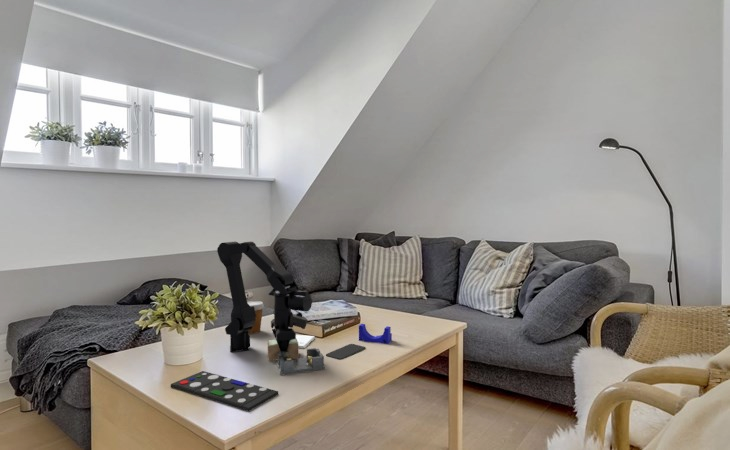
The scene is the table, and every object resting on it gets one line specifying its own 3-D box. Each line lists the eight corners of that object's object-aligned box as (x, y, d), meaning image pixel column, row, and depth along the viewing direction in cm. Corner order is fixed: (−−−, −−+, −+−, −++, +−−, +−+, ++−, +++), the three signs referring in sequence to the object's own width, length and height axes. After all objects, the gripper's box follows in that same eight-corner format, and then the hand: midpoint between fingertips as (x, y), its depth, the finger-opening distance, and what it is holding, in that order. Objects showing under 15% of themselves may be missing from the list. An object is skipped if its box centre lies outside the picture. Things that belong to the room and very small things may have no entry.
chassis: (280, 375, 129) (280, 362, 129) (276, 364, 139) (276, 352, 139) (325, 369, 134) (325, 357, 134) (318, 359, 143) (318, 347, 143)
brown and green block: (268, 360, 142) (268, 345, 142) (267, 354, 148) (267, 340, 148) (298, 358, 145) (298, 342, 145) (296, 352, 151) (296, 337, 150)
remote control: (202, 375, 131) (202, 369, 130) (278, 396, 116) (278, 389, 116) (170, 388, 121) (170, 382, 121) (248, 413, 106) (248, 405, 106)
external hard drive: (314, 340, 167) (304, 350, 154) (295, 338, 168) (283, 348, 156) (314, 335, 167) (304, 345, 154) (295, 334, 168) (283, 344, 156)
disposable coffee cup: (263, 334, 172) (262, 305, 172) (239, 335, 170) (238, 306, 170) (265, 328, 181) (264, 300, 181) (242, 329, 180) (241, 301, 179)
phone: (324, 354, 147) (351, 343, 159) (324, 356, 147) (351, 345, 159) (340, 359, 142) (366, 347, 154) (340, 361, 142) (366, 349, 154)
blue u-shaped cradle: (391, 341, 164) (391, 325, 164) (388, 344, 160) (388, 328, 160) (363, 337, 168) (362, 322, 168) (358, 340, 164) (358, 325, 164)
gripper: (310, 312, 140) (311, 359, 140) (300, 301, 157) (301, 342, 158) (276, 315, 136) (277, 363, 136) (270, 303, 154) (270, 345, 154)
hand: (282, 353), depth 146 cm, fingers closed on brown and green block, 6 cm apart
